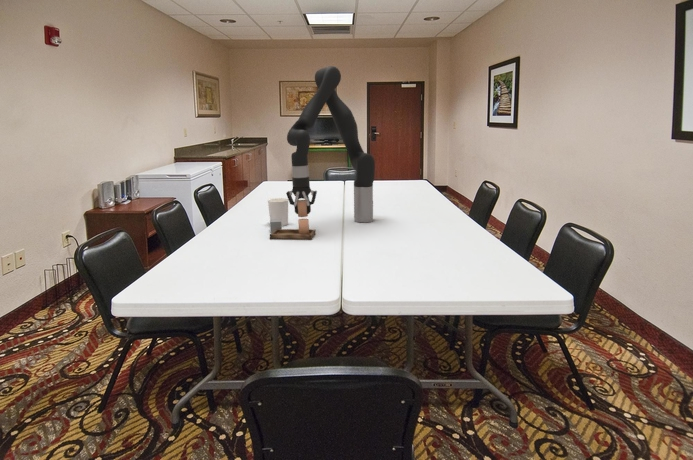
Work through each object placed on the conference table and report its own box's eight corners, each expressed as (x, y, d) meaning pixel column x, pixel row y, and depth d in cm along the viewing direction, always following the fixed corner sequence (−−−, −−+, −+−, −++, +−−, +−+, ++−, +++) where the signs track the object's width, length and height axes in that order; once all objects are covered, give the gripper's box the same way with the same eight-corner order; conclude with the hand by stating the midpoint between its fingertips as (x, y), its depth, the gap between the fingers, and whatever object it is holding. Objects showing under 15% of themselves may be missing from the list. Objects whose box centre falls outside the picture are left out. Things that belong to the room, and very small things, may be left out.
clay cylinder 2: (310, 234, 208) (309, 218, 206) (308, 236, 203) (307, 220, 202) (300, 234, 208) (299, 218, 206) (298, 236, 204) (297, 220, 202)
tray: (315, 234, 210) (315, 229, 210) (311, 239, 201) (311, 235, 200) (276, 233, 212) (275, 229, 212) (269, 239, 203) (269, 234, 202)
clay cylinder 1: (307, 214, 216) (306, 199, 214) (308, 216, 212) (307, 201, 210) (297, 215, 215) (296, 200, 213) (298, 217, 211) (297, 202, 209)
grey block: (281, 229, 219) (281, 219, 218) (281, 232, 214) (281, 221, 213) (270, 230, 219) (270, 219, 217) (270, 232, 214) (270, 222, 212)
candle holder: (285, 227, 224) (284, 202, 221) (266, 226, 226) (264, 201, 223) (292, 222, 233) (291, 198, 230) (273, 221, 235) (272, 197, 232)
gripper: (317, 174, 212) (319, 211, 216) (286, 174, 213) (289, 212, 218) (315, 176, 205) (317, 215, 209) (282, 177, 206) (285, 215, 211)
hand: (302, 213), depth 213 cm, fingers closed on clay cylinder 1, 4 cm apart
